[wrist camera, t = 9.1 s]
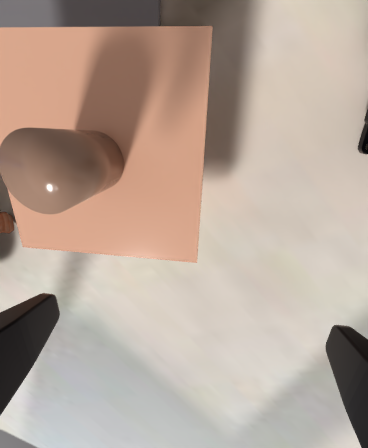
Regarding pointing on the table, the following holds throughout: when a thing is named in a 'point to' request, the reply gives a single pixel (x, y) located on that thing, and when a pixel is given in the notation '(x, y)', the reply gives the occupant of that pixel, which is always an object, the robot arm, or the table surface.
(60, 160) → the lid
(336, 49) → the table surface
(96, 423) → the table surface
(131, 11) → the mat
